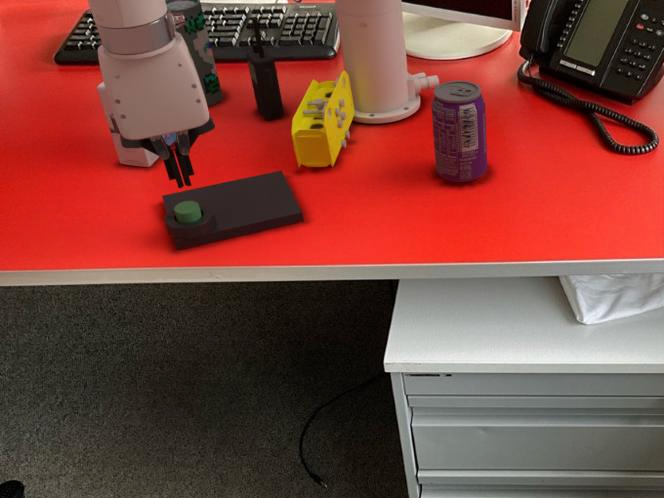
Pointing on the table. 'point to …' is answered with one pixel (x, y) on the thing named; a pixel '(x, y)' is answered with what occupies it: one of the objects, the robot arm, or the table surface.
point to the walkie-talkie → (264, 78)
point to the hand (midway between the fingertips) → (183, 181)
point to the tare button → (187, 212)
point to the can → (198, 46)
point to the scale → (233, 209)
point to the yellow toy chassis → (323, 122)
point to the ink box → (124, 154)
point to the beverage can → (459, 131)
